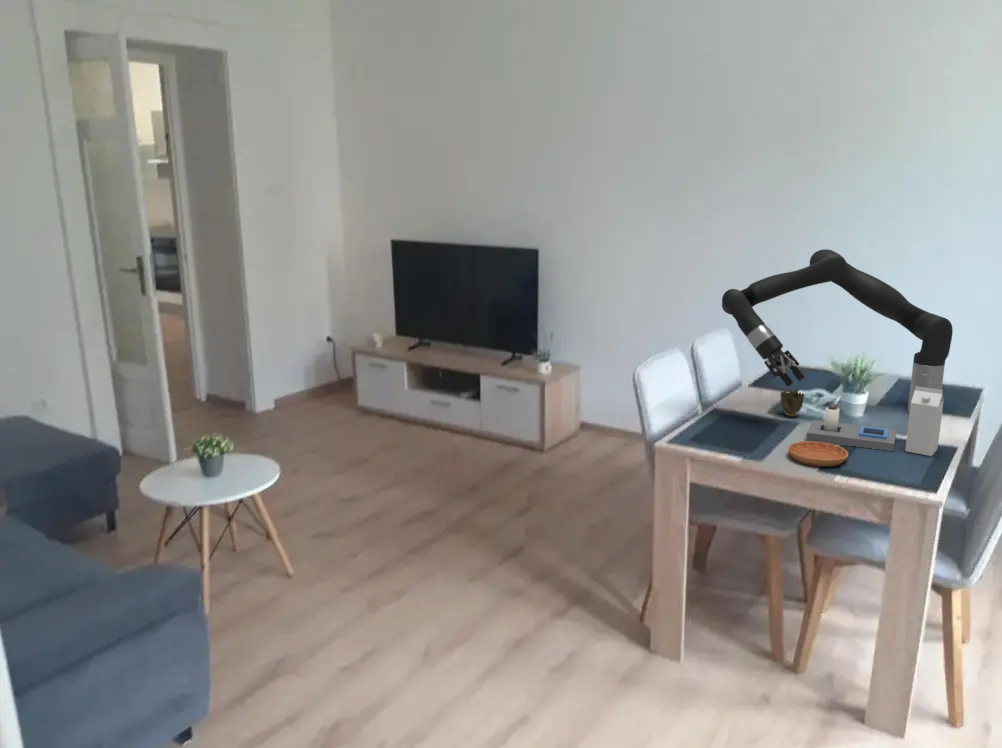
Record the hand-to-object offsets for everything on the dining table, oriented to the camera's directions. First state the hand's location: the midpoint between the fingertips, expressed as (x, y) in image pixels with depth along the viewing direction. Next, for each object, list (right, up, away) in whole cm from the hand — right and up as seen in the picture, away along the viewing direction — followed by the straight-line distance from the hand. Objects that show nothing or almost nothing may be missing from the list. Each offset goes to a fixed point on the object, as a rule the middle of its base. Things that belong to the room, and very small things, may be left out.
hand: (796, 381), depth 249 cm
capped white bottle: (+9, -17, -4) cm, 19 cm away
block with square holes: (+14, -17, -7) cm, 23 cm away
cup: (+4, -12, +16) cm, 21 cm away
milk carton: (+30, -20, -18) cm, 40 cm away
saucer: (-2, -22, -22) cm, 31 cm away
